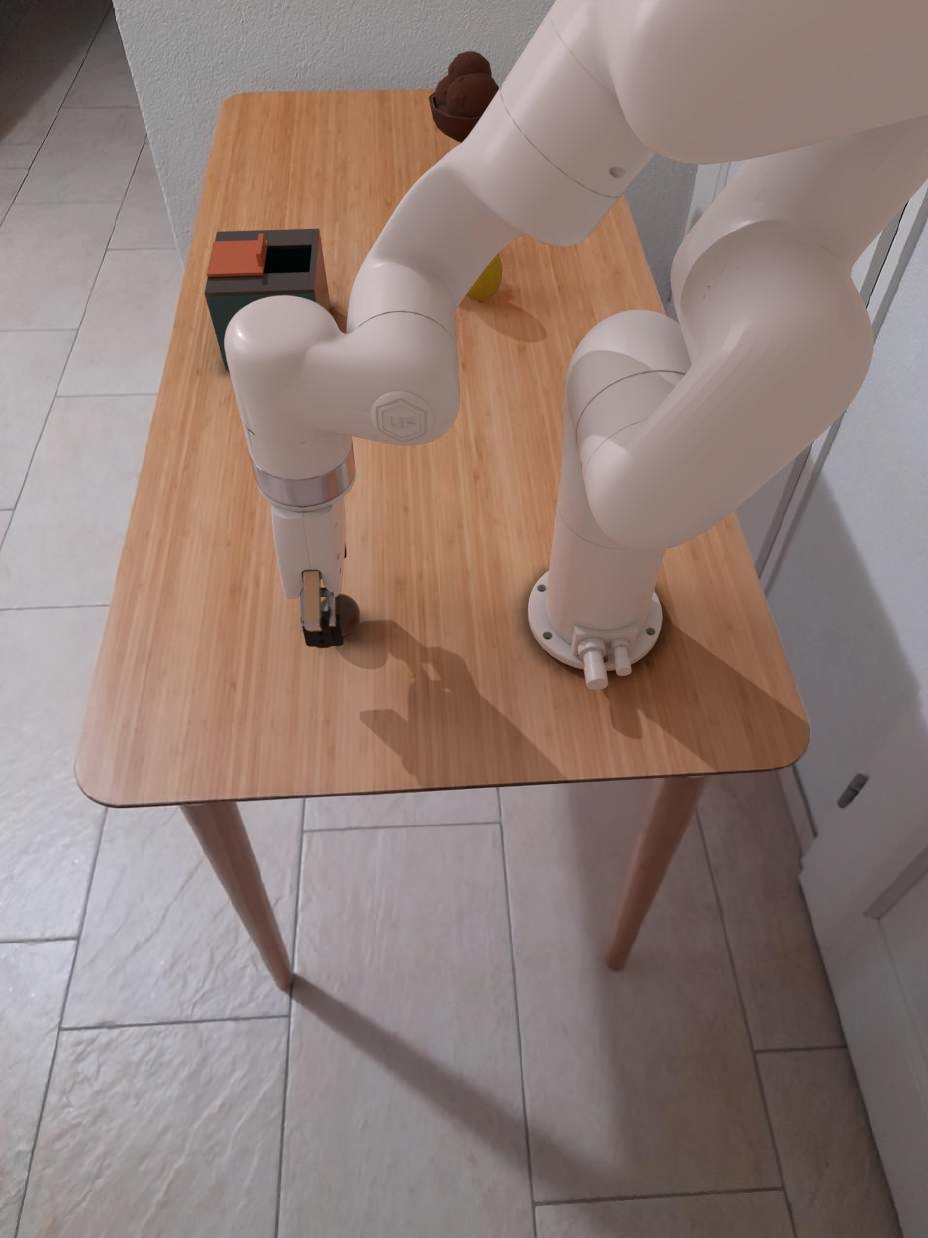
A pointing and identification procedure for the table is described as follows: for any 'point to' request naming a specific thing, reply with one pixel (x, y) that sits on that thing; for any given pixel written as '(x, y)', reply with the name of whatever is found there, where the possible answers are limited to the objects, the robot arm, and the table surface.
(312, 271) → the sliding lid box
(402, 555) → the table surface
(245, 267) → the slider
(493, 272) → the lemon
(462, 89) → the ice cream bowl
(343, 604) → the ball
